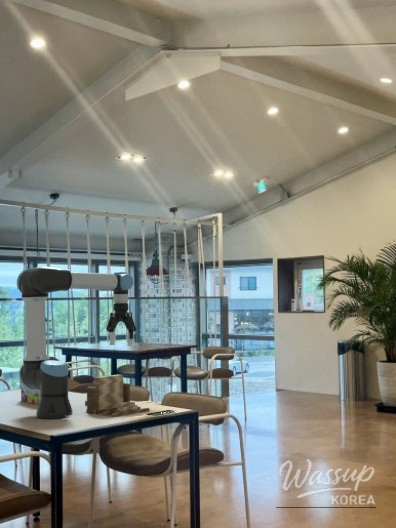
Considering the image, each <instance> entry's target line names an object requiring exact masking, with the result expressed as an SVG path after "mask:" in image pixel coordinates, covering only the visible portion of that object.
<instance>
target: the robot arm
mask: <svg viewBox="0 0 396 528" xmlns="http://www.w3.org/2000/svg"><path fill="white" fill-rule="evenodd" d="M133 286H134V278H133V276H132V275H131V274H129V273H128V272H125V271H116V272H113V273H102V272H85V271H84V272H82V271H71V270H70V269H67V268H56V267H53V266H52V267H50V266H41V267H29V268H26V269H23V270H22V271H21V272H20V273H19V274H18V276H17V279H16V287H17V289H18V290H19V292H20V293H21V299H22V300H23V301H24V302H25V303H24V305H25V306H24V307H25V337H26V338H25V340H26V343H25V344H26V347H25V348H26V355H25V357H24V358H23V360H22V361H23V363H22V365H21V367H20V369H19V370H18V371H19V372H18V378H19V381H20V384H21V383H22V384H23V385H24V386H25V387H28V388H30V389H38V390H41V399H40V402H39V405H37V410H36V414H35V415H36V418H37V419H42V420H43V419H44V420H46V419H47V420H53V419H65V418H67V417H68V416H70V415H72V414H73V409H72V405H71V401H70V398H69V365H68V364H67V362H65V361H62V360H55V359H54V360H51V358H50V356H49V355H47V332H46V331H47V329H46V300H48V298H49V294H50V293H55V292H67V291H69V290H71V289H72V290H95V291H97V292H98V291H99V292H100V291H101V292H103V291H104V292H106V291H107V292H113V297H112V301H113V302H112V303H113V305H112V306H113V311H114V312H110V314H109V319H108V321H107V322H108V323H107V326H106V329H105V330H106V331H107V332H108V337H109V346H115V344H116V343H115V342H116V341H115V340H116V339H115V338H116V332H115V329H116V328H117V326H118V324H119V323H120V322H122V323H123V324H124V326H125V327H126V329H127V347H132V346H134V341H133V340H134V332H137V327H136V325H135V321H134V318H133V313H132V312H128V311H129V303H128V302H129V290H130V289H132V288H133Z"/></svg>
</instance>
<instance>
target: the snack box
mask: <svg viewBox="0 0 396 528" xmlns="http://www.w3.org/2000/svg"><path fill="white" fill-rule="evenodd" d="M20 396H21V397H20V401H22V402H25V403H29V404H32V405H36V406H39V402H40V399H41V390H38V389H30V388H28V387H25V386H24V385H23V384H22V383H21V382H20Z"/></svg>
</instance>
